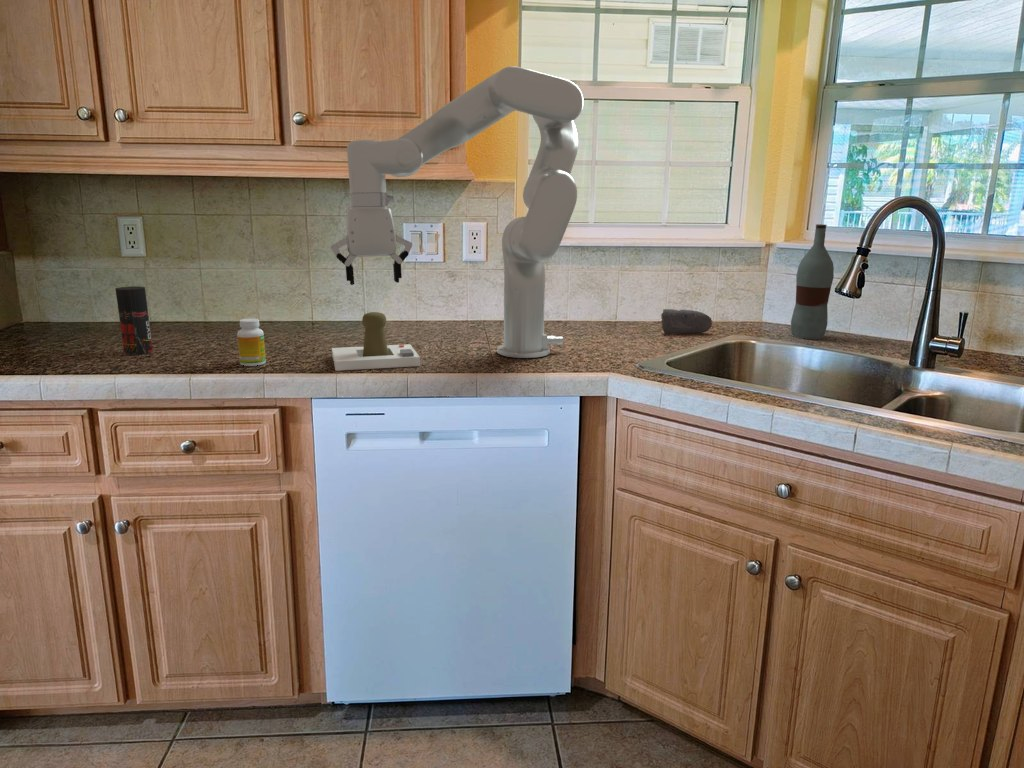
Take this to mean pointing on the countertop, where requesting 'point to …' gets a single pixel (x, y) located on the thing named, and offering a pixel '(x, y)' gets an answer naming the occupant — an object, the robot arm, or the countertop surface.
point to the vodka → (813, 290)
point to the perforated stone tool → (685, 322)
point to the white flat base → (374, 358)
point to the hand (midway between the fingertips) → (374, 283)
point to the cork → (374, 335)
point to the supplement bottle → (251, 343)
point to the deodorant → (134, 320)
